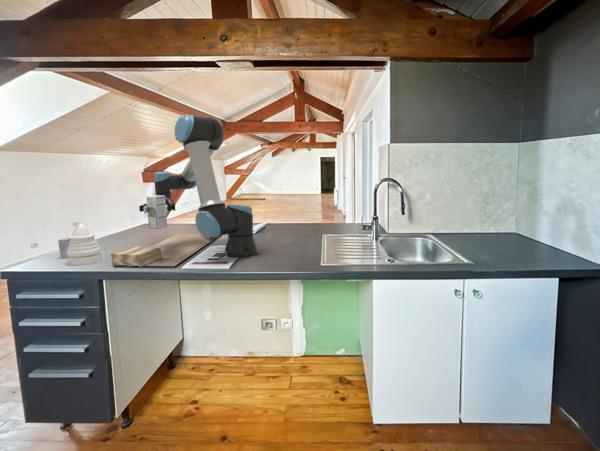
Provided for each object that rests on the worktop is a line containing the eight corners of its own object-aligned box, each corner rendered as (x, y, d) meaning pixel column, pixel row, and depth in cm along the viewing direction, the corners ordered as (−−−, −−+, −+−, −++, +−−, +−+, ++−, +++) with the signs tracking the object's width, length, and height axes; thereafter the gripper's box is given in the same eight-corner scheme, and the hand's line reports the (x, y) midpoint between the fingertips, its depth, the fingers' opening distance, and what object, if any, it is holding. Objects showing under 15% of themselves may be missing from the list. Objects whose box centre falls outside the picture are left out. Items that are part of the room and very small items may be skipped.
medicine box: (68, 258, 164) (66, 239, 163) (60, 258, 165) (57, 239, 164) (81, 254, 172) (79, 236, 170) (73, 253, 173) (71, 236, 171)
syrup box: (168, 227, 159) (165, 194, 157) (157, 229, 154) (155, 196, 152) (158, 226, 162) (156, 194, 159) (148, 228, 157) (145, 195, 154)
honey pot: (66, 267, 150) (61, 224, 147) (69, 260, 161) (64, 220, 158) (101, 262, 155) (96, 222, 152) (102, 256, 167) (97, 218, 164)
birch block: (161, 258, 161) (160, 247, 160) (140, 267, 148) (139, 255, 147) (135, 257, 164) (134, 246, 164) (112, 265, 151) (111, 253, 150)
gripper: (184, 211, 177) (180, 217, 155) (139, 213, 172) (129, 220, 150) (183, 196, 175) (179, 200, 154) (138, 197, 170) (128, 202, 149)
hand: (155, 210), depth 152 cm, fingers closed on syrup box, 8 cm apart
